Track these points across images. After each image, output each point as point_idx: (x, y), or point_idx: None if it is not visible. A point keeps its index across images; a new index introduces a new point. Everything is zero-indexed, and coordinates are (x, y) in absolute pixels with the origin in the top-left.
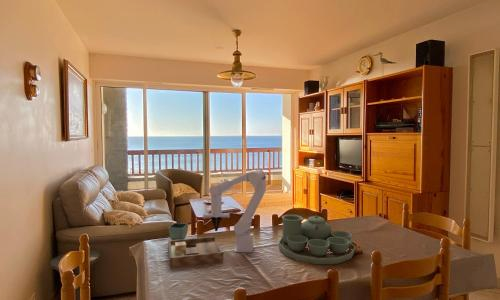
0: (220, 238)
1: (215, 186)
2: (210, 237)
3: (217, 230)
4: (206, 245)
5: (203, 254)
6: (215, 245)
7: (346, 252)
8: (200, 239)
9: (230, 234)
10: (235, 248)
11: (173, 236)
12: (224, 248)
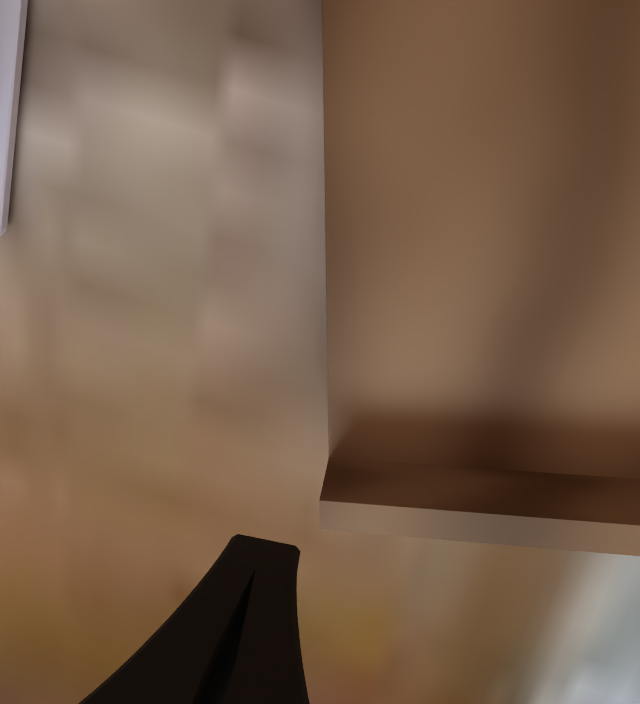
0: None
1: None
2: (408, 505)
3: (231, 543)
4: (553, 257)
5: None
6: (366, 199)
7: None
8: (620, 505)
9: (82, 664)
10: (2, 104)
11: None
12: (203, 217)
